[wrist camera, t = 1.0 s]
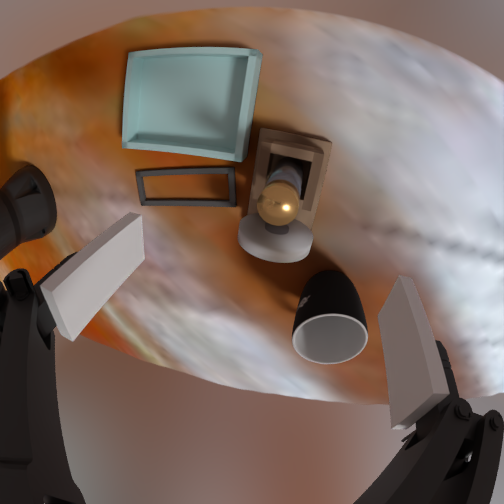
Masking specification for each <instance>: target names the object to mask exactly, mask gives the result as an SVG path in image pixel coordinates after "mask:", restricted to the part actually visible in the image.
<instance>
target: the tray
mask: <svg viewBox="0 0 504 504" xmlns="http://www.w3.org/2000/svg"><path fill="white" fill-rule="evenodd" d="M262 56H263V54H262V53H261V52H260V51H259V50H257V49H245V48H228V47H182V48H165V49H153V50H144V51H135V52H129V55H128V63H127V71H126V81H125V92H124V106H123V128H122V148H130V149H143V150H154V151H164V152H173V153H182V154H190V155H197V156H204V157H211V158H218V159H224V160H231V161H237V162H242V161H243V160H244V159H245V158H247V154H248V147H249V140H250V133H251V126H252V120H253V113H254V106H255V100H256V94H257V87H258V81H259V74H260V68H261V62H262Z"/></svg>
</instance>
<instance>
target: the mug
mask: <svg viewBox="0 0 504 504" xmlns="http://www.w3.org/2000/svg"><path fill="white" fill-rule="evenodd" d="M367 340H368V330H367V324H366V319H365V315H364V311H363V307H362V304H361V301H360V298H359V295H358V293H357V291H356V288H355V286H354V285H353V283H352V282H351V280H350V279H349V278H348V277H347V276H345V275H344V274H342V273H340V272H337V271H323V272H320V273H318V274H316V275H314V276H313V277H312V278H311V279H310V280H309V281H308V282H307V284H306V286H305V287H304V290H303V292H302V295H301V298H300V301H299V304H298V308H297V312H296V316H295V321H294V326H293V332H292V344H293V347H294V349H295V350H296V352H297V353H298V354H299V355H300V356H302V357H303V358H305V359H307V360H309V361H312V362H315V363H320V364H336V363H341V362H344V361H347V360H350V359H352V358H353V357H355V356H356V355H358V354H359V353H360V352H361V351H362V350H363V349H364V347H365V346H366V343H367Z"/></svg>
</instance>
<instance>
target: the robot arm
mask: <svg viewBox="0 0 504 504" xmlns="http://www.w3.org/2000/svg"><path fill="white" fill-rule="evenodd" d="M56 217H57V212H56V204H55V199H54V196H53V192H52V190H51V187H50V185H49V183H48V181H47V179H46V178H45V176H44V175H43V173H42V172H41V171H40V170H39V169H37V168H36V167H34V166H26V167H24V168H22V169H20V170H18V171H17V172H16V173H15V174H14V175H13V176H12V177H11V178H10V179H9V180H8V181H7V182H6V183H5V184H4V185H3V186H2V187H1V188H0V260H1V259H2V258H3V257H4V256H6V255H7V254H8V253H9V252H11V251H12V250H13V249H14V248H16V247H17V246H18V245H20V244H21V243H24V242H28V241H32V240H36V239H39V238H43V237H44V236H46V235H47V234H49V233H50V232H51V231H52V230H53V229H54V227H55V224H56ZM144 259H145V256H144V244H143V230H142V215H140V214H136V213H131V212H130V213H128V214H127V215H125V216H124V217H123V218H121V219H120V220H119V221H117V222H116V223H115V224H113V225H112V226H111V227H109V228H108V229H107V230H105V231H104V232H103V233H101V234H100V235H99V236H98V237H96V238H95V239H94V240H93V241H91V242H90V243H89V244H88V245H86V246H85V247H84V248H83V249H81V250H80V251H79V252H75V253H73V254H71V255H69V256H67V257H66V258H65V259H64V260H62V261H61V262H60V264H58V265H56V266H55V267H54V269H52V270H51V271H50V272H48V273H47V274H46V275H45V276H44V277H43V278H42V279H41V280H40V281H38V282H37V283H36V284H35V285H34V286H33V283H32V280H31V278H30V275H29V272H28V271H27V270H26V269H16V270H13V271H12V272H10V273H9V274H8V275H7V276H6V277H5V278H4V280H3V282H4V284H5V286H6V289H7V291H6V290H5V288H4V286H3V284H2V282H1V281H0V504H44V503H45V504H86V503H85V500H84V498H83V495H82V493H81V491H80V489H79V488H78V487H77V485H76V484H75V483H74V481H73V479H72V476H71V472H70V469H69V464H68V461H67V456H66V452H65V447H64V441H63V436H62V430H61V424H60V417H59V409H58V401H57V390H56V376H55V335H54V331H53V329H54V328H55V327H56V326H57V327H58V329H59V332H60V333H61V335H62V336H64V337H66V338H67V339H69V340H71V341H74V340H75V338H76V337H77V336H78V335H79V333H80V332H81V331H82V330H83V329H84V327H85V326H86V325H87V324H88V322H89V321H90V320H91V319H92V318H93V317H94V315H95V314H96V313H97V312H98V311H99V309H100V308H101V307H102V306H103V305H104V304H105V302H106V301H107V300H108V299H109V298H110V297H111V296H112V294H113V293H114V292H115V291H116V290H117V289H118V288H119V287H120V285H121V284H122V283H123V282H124V281H125V280H126V279H127V278H128V277H129V276H130V274H131V273H132V272H133V271H134V270H135V269H136V268H137V267H138V266H139V265H140V264H141V263H142V262H143V261H144ZM378 321H379V327H380V333H381V339H382V345H383V352H384V358H385V366H386V374H387V382H388V392H389V403H390V415H391V429H407V428H409V427H410V426H412V425H413V424H414V423H416V430H415V431H413V432H412V433H411V434H409V435H408V436H406V437H405V438H404V439H403V440H402V442H404V441H405V440H407V441H406V442H405V444H404V445H403V446H402V448H401V449H400V450H399V452H398V453H397V454H396V456H395V457H394V458H393V460H392V461H391V462H390V464H389V465H388V466H387V467H386V468H385V470H384V471H383V472H382V473H381V475H380V476H379V477H378V478H377V479H376V480H375V481H374V482H373V483H372V485H371V486H370V487H369V488H368V489H367V490H366V491H365V492H364V493H363V494H362V495H361V496H360V497H359V499H357V500H356V501H355V502H354V503H353V504H489V503H490V500H491V497H492V493H493V489H494V485H495V481H496V476H497V472H498V467H499V461H500V456H501V448H502V441H503V432H504V422H503V418H502V416H501V415H500V413H499V412H497V411H496V410H490V411H489V412H487V413H486V414H485V415H484V416H481V415H478V414H476V413H473V412H472V408H471V406H470V404H469V403H468V402H467V401H466V400H464V399H463V398H459V394H458V390H457V386H456V382H455V379H454V375H453V371H452V370H451V365H450V362H449V358H448V355H447V352H446V349H445V348H444V346H443V345H442V343H441V342H440V341H437V340H435V339H434V336H433V333H432V330H431V327H430V324H429V321H428V318H427V315H426V313H425V310H424V307H423V305H422V302H421V299H420V297H419V294H418V292H417V289H416V287H415V285H414V282H413V280H412V278H409V277H405V276H401V275H399V276H398V278H397V280H396V282H395V284H394V286H393V288H392V290H391V292H390V294H389V296H388V298H387V300H386V302H385V303H384V305H383V307H382V309H381V311H380V312H379V314H378ZM470 455H472V456H471V460H470V461H469V462H468V457H469V456H470Z"/></svg>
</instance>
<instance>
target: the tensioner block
mask: <svg viewBox="0 0 504 504" xmlns="http://www.w3.org/2000/svg"><path fill="white" fill-rule="evenodd" d="M331 148H332V142H329V141H325V140H320V139H316V138H312V137H307V136H303V135H298V134H293V133H288V132H283V131H278V130H272V129H267V128H260V134H259V140H258V147H257V153H256V160H255V166H254V173H253V180H252V186H251V193H250V200H249V207H248V213H247V216H245V217H244V218H242V219H241V221H240V224H239V231H238V242H239V244H240V245H241V247H242V248H243V249H244V250H246V251H247V252H248V253H250V254H252V255H253V256H256V257H258V258H261V259H263V260H267V261H272V262H279V263H290V262H296V261H299V260H302V259H304V258H305V257H306V256H307V255H308V254H309V251H310V248H311V244H312V241H313V234H312V232H311V229H312V225H313V221H314V218H315V214H316V210H317V206H318V202H319V198H320V194H321V190H322V186H323V182H324V178H325V174H326V170H327V165H328V161H329V157H330V152H331ZM287 156H289V157H293V158H297V159H299V160H300V162H301V163H302V165H303V177H302V185H301V193H300V201H299V208H298V213H297V215H296V217H295V219H294V220H293V221H291V222H290V223H288V224H286V225H282V226H276V225H271V224H269V223H267V222H266V221H264V220H263V219H262V218H261V216H260V215H259V213H258V210H257V201H258V198H259V196H260V194H261V192H262V191H263V189H264V187H265V185H266V183H267V182H268V180H269V178H270V176H271V175H272V173H273V171H274V169H275V167H276V166H277V164H278V162H279V161H280V160H281V159H282V158H284V157H287Z"/></svg>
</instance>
